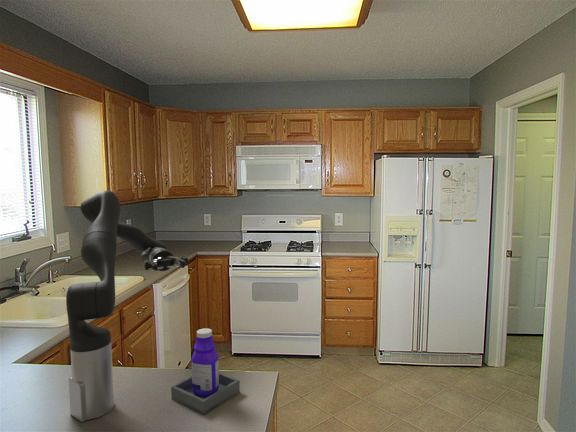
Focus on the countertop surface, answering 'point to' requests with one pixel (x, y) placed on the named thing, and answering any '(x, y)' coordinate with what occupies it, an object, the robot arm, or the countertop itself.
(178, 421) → the countertop surface
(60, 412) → the countertop surface
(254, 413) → the countertop surface
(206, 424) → the countertop surface
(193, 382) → the bottle
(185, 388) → the tray
